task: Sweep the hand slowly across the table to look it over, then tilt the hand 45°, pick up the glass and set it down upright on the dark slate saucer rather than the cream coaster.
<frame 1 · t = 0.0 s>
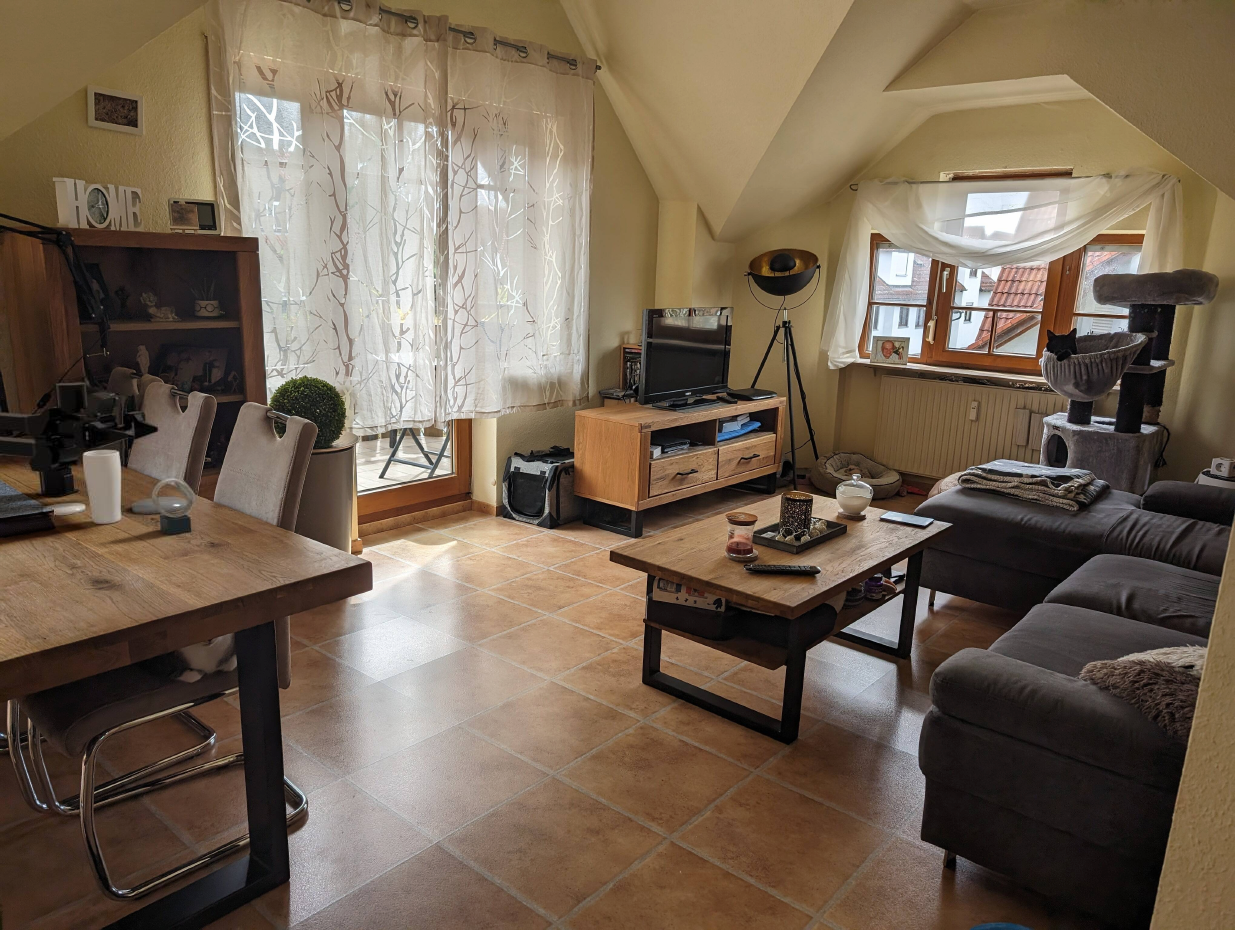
hand: (142, 432, 198), 17 cm above the table, tool horizontal, fingers open, 9 cm apart
slate saucer: (159, 507, 197), on the table
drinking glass: (107, 522, 185), on the table
cream coaster: (64, 510, 192), on the table
grey ring on block: (176, 531, 180), on the table
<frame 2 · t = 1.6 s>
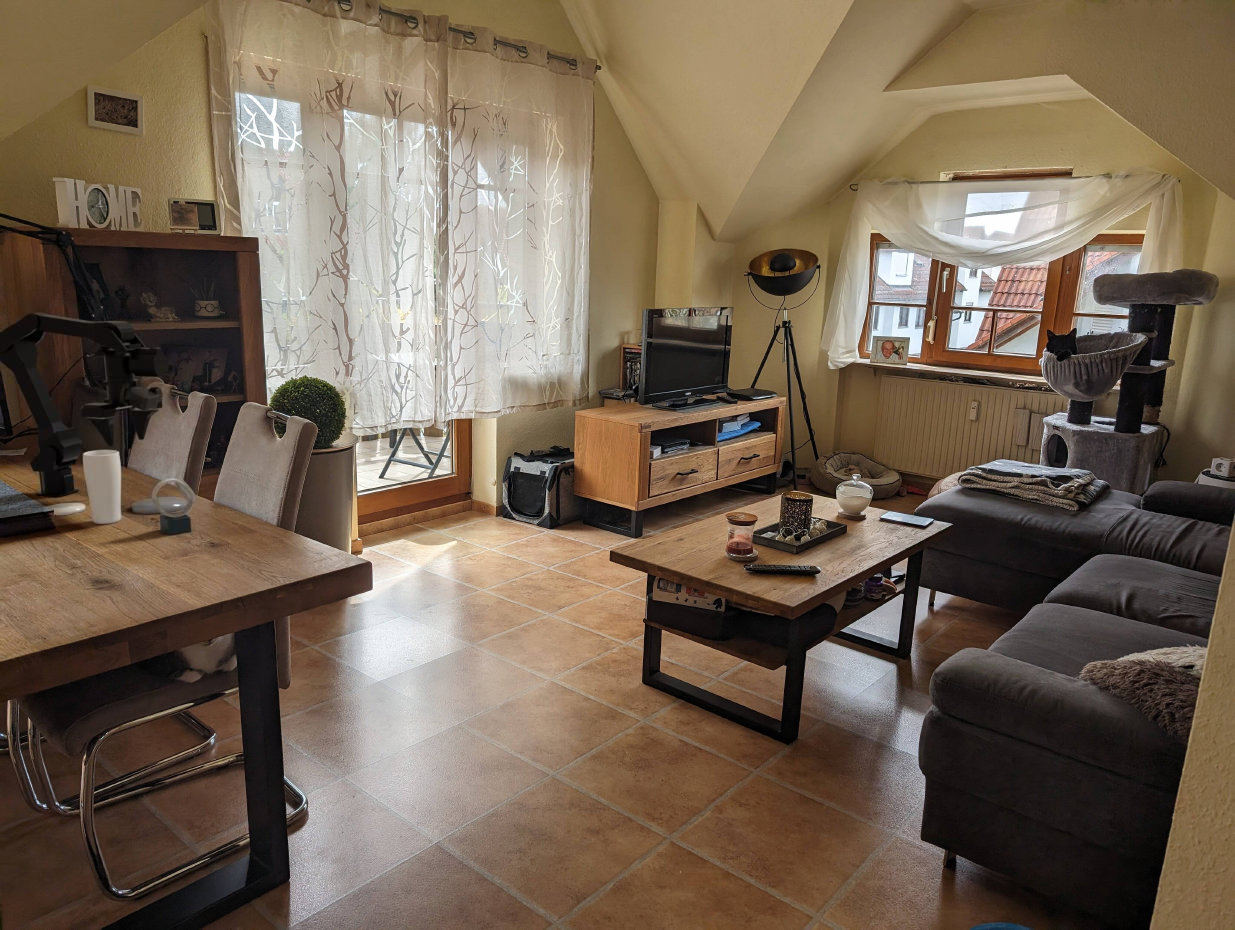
hand: (126, 442, 203), 13 cm above the table, tool pointing down, fingers open, 9 cm apart
nothing on the table moved.
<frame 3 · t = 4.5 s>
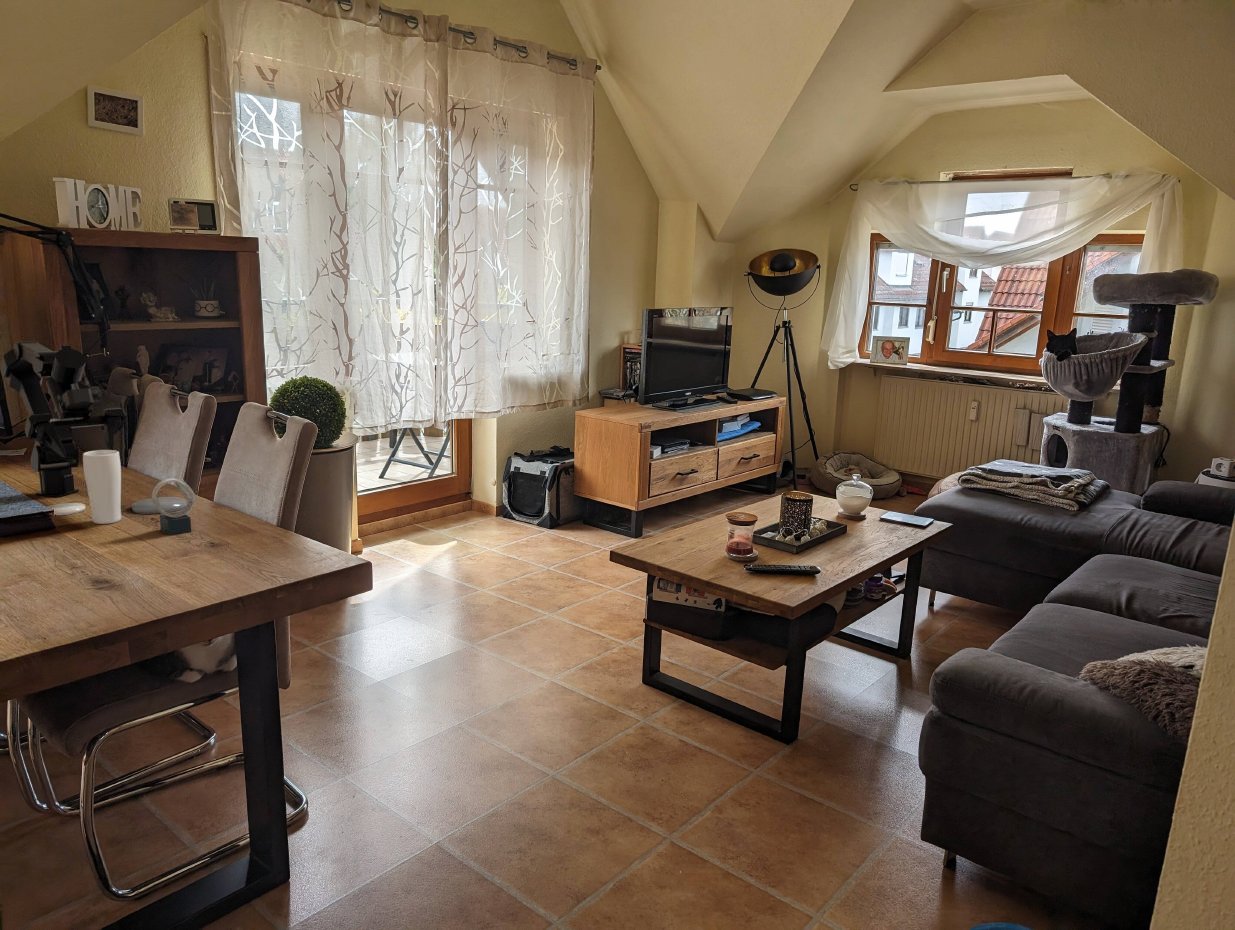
hand: (88, 453, 188), 14 cm above the table, tool tilted 45°, fingers open, 9 cm apart
nothing on the table moved.
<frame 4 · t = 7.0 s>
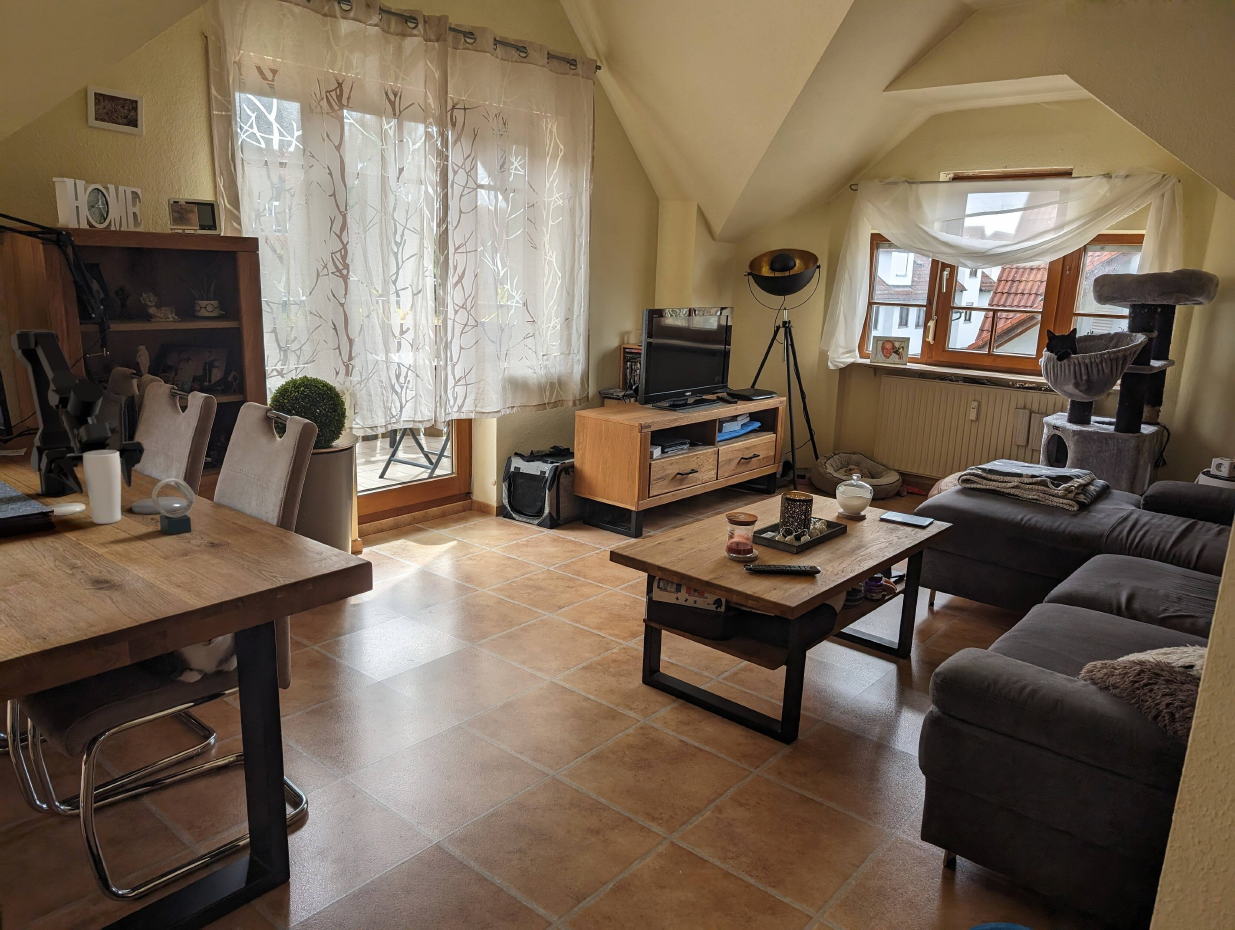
hand: (106, 489, 183), 7 cm above the table, tool tilted 45°, fingers open, 9 cm apart
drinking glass: (107, 522, 185), on the table, touching gripper
everything else where it was.
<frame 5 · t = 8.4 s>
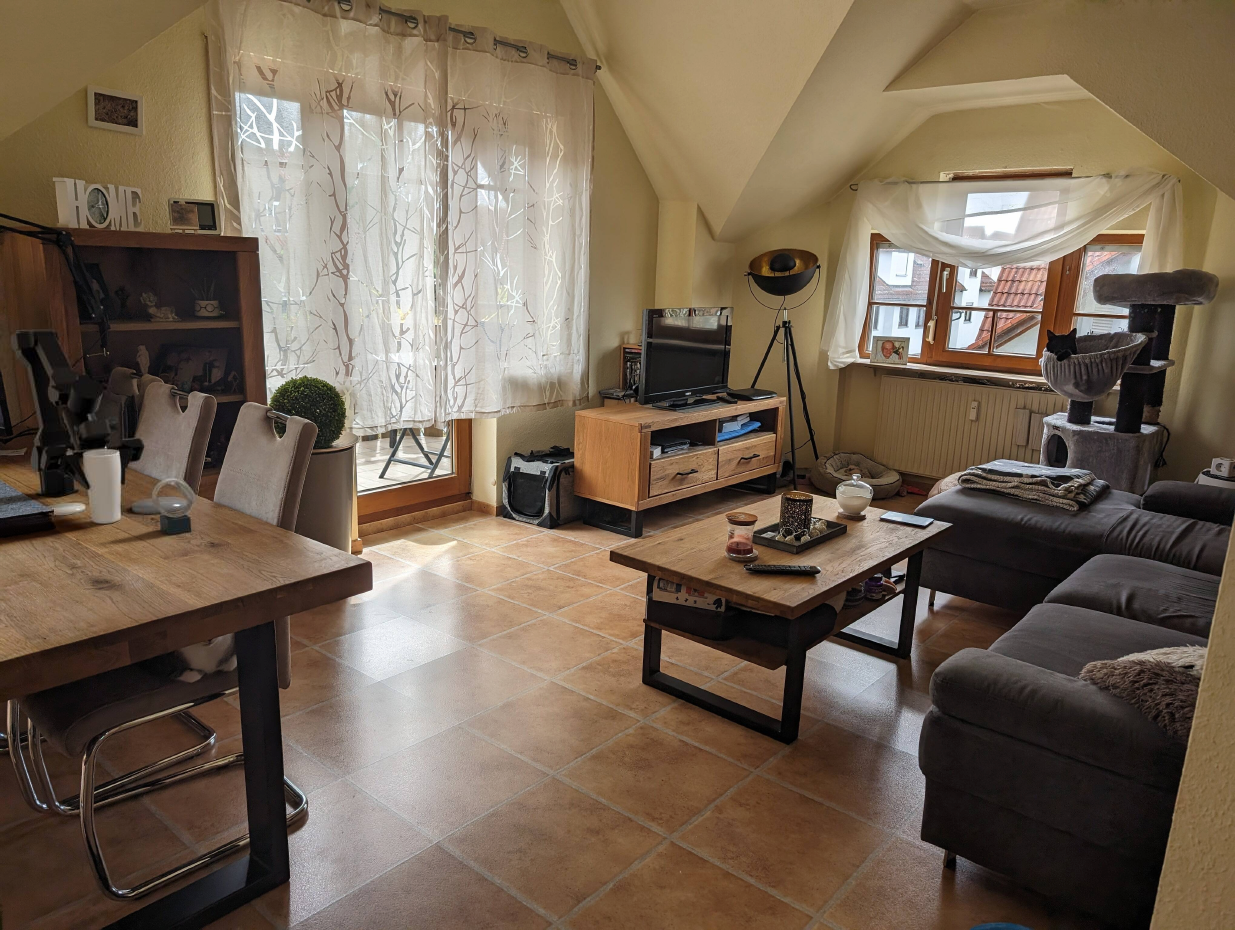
hand: (106, 486, 183), 8 cm above the table, tool tilted 45°, fingers open, 6 cm apart
nothing on the table moved.
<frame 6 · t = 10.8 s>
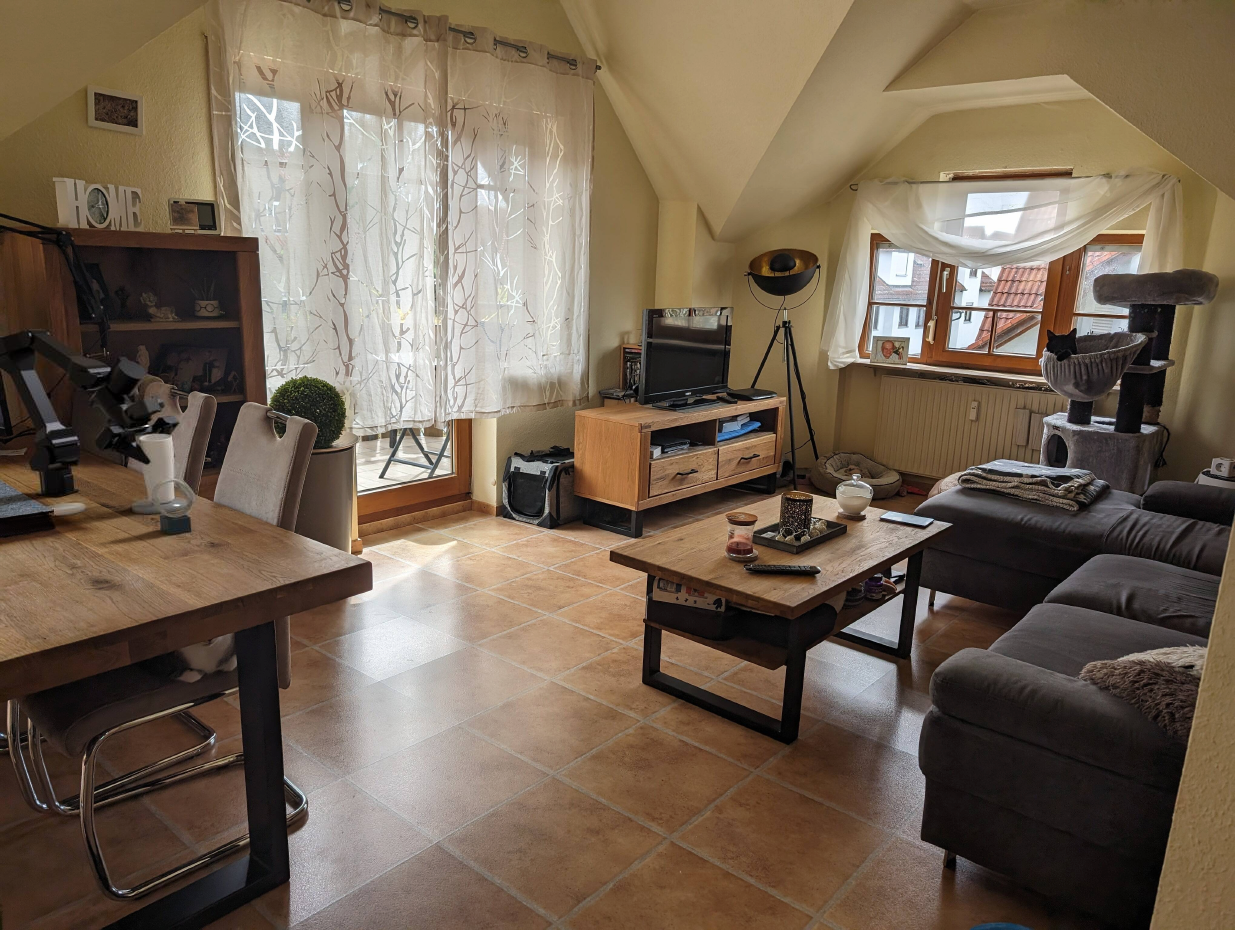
hand: (161, 460, 195), 11 cm above the table, tool tilted 45°, fingers closed on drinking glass, 7 cm apart
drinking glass: (161, 501, 198), point 1 cm above the table, touching gripper, slate saucer
everything else where it was.
when the fingers open (10 cm above the table, at t = 11.6 s): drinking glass stays where it is, resting on slate saucer.
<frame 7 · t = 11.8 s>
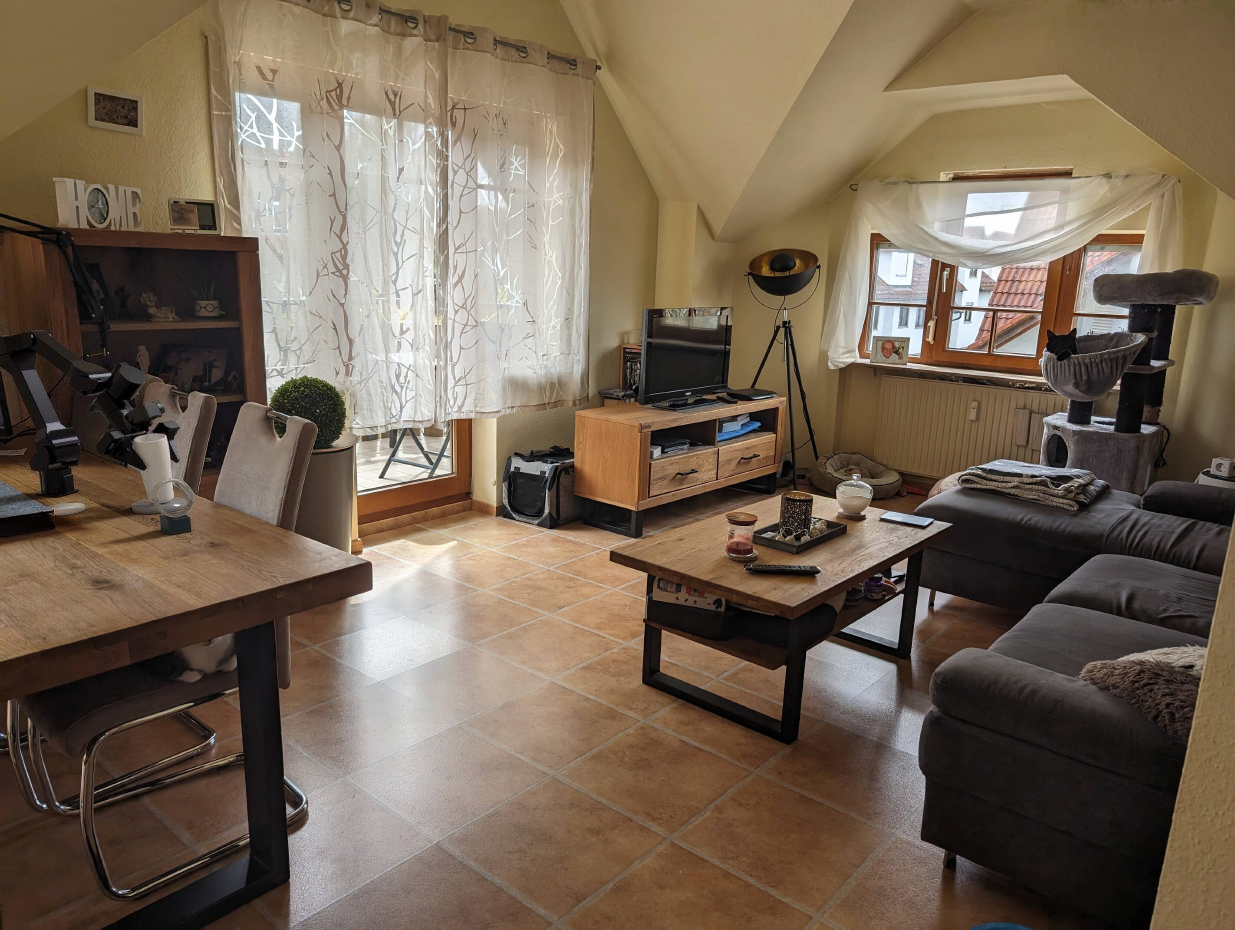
hand: (162, 465, 195), 10 cm above the table, tool tilted 45°, fingers open, 9 cm apart
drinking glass: (161, 501, 198), point 1 cm above the table, touching gripper, slate saucer
everything else where it was.
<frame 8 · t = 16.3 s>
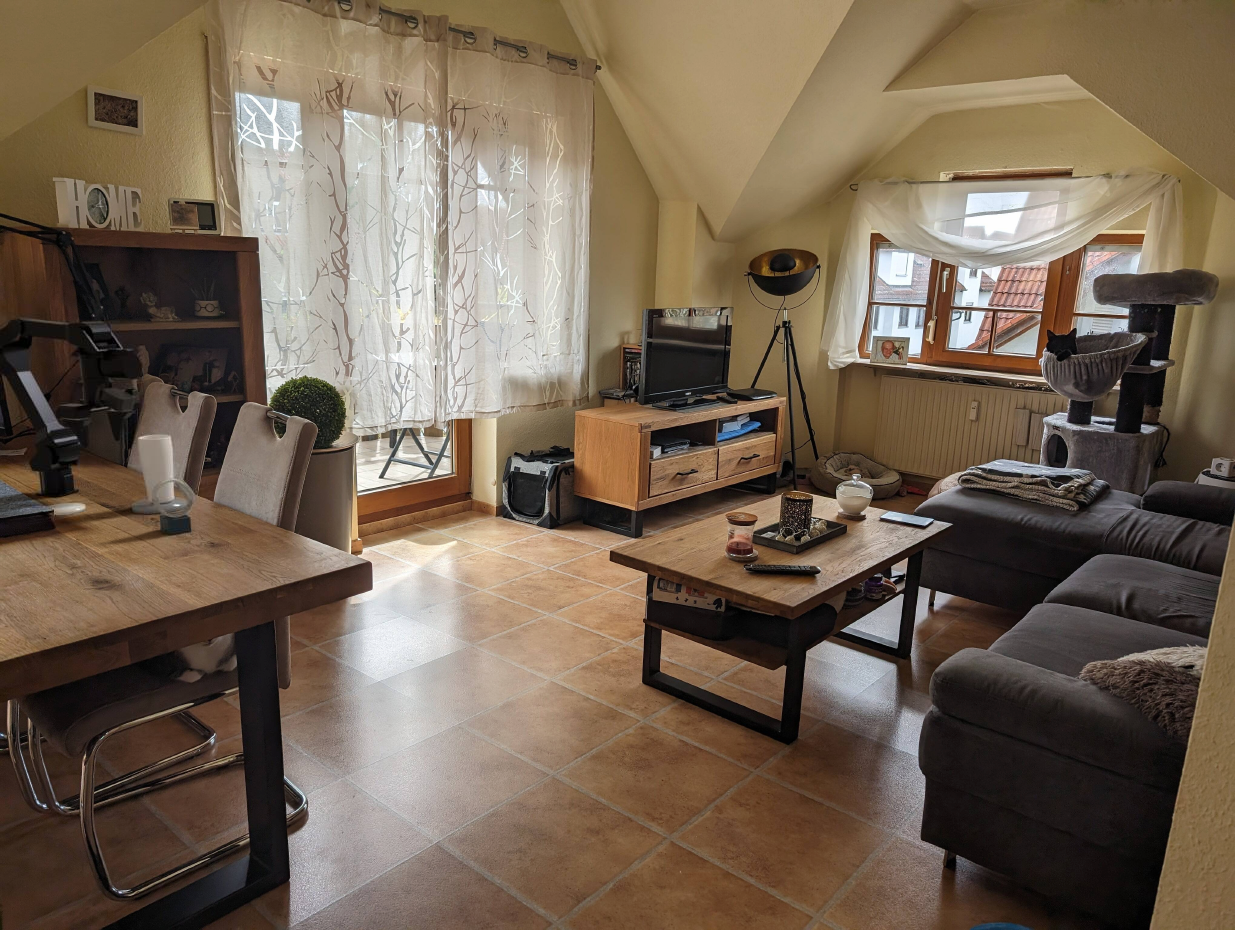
hand: (102, 444, 201), 13 cm above the table, tool pointing down, fingers open, 9 cm apart
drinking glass: (161, 502, 198), point 1 cm above the table, touching slate saucer
everything else where it was.
at the end: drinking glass 0.7 cm off-centre on the slate saucer, point 1.3 cm above the slate saucer's base; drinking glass tilted 7°; the gripper is holding nothing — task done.
